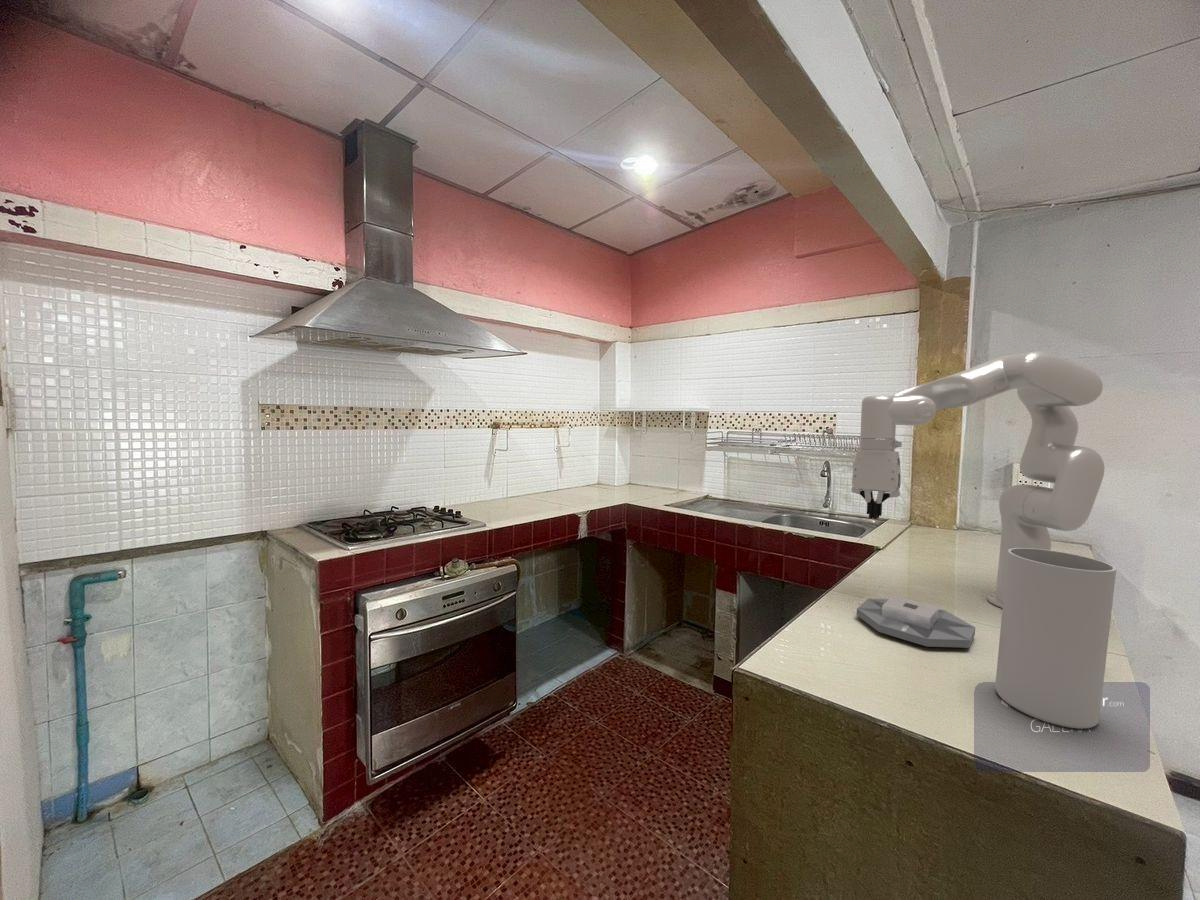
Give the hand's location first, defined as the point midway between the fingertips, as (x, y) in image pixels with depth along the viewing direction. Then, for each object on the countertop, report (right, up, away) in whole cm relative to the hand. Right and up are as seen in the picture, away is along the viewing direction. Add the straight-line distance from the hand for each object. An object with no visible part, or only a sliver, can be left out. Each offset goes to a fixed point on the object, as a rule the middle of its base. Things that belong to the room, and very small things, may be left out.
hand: (873, 517), depth 118 cm
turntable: (+2, -23, -12) cm, 26 cm away
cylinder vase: (+4, -26, -41) cm, 48 cm away
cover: (+1, -21, -12) cm, 24 cm away
